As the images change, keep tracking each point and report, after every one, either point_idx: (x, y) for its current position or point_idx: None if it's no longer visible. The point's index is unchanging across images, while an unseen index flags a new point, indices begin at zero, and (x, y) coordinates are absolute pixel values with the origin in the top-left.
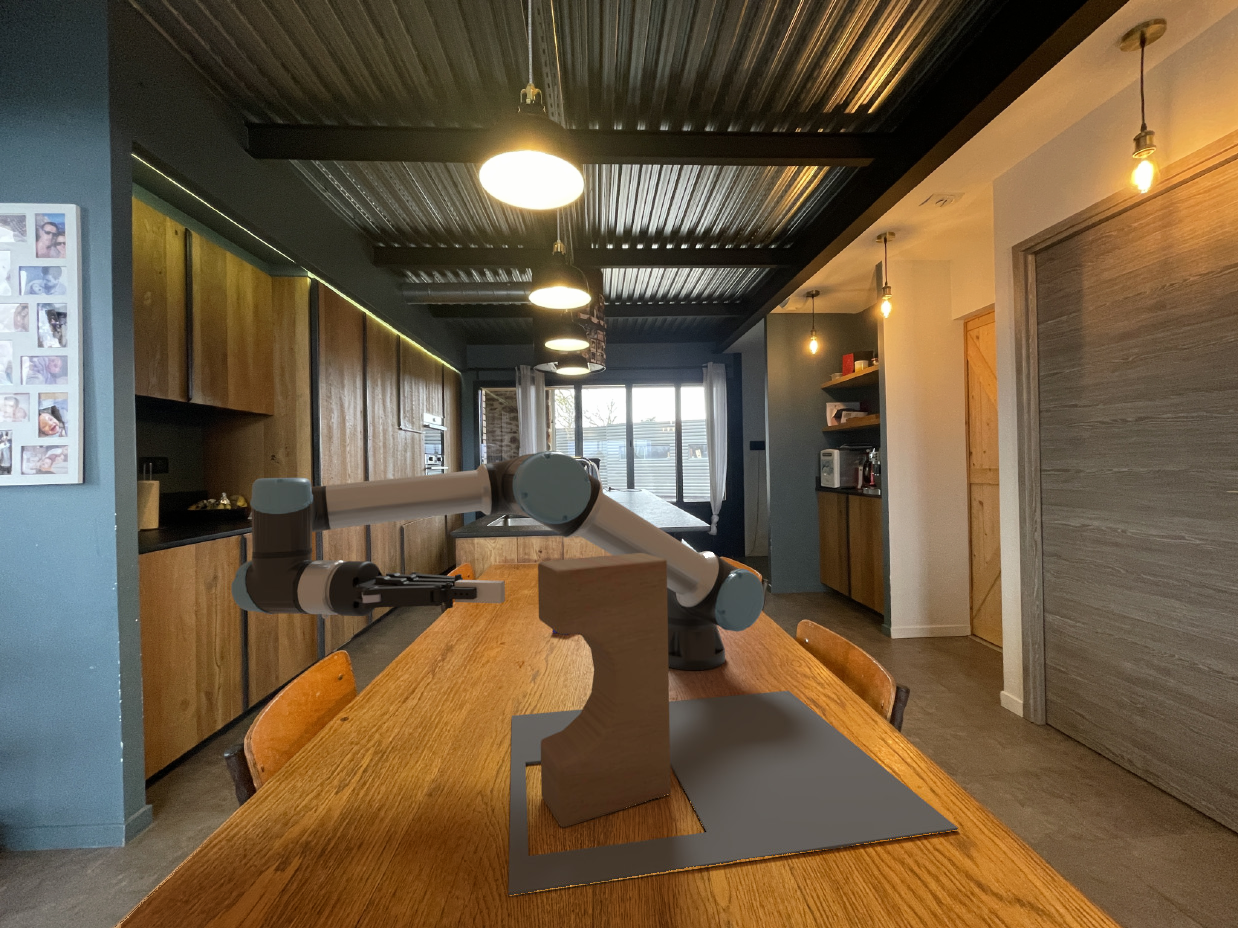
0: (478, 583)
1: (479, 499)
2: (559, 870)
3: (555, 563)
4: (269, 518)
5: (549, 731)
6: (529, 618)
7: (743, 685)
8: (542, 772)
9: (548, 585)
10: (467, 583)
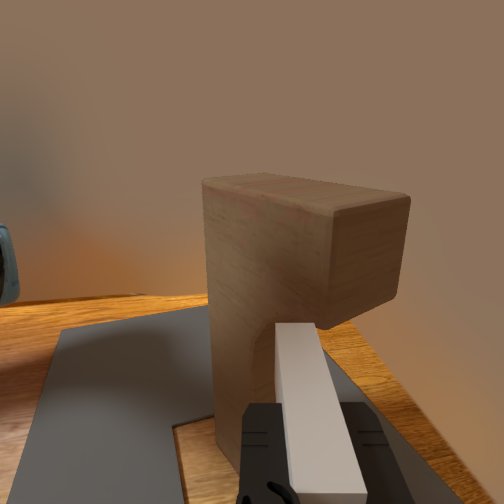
0: (331, 382)
1: None
2: (431, 492)
3: (344, 198)
4: None
5: None
6: None
7: (18, 360)
8: None
9: (380, 236)
10: (343, 426)
